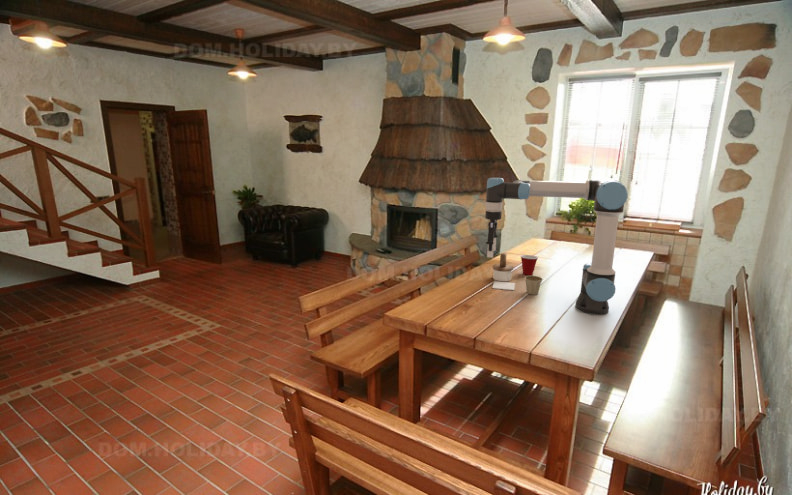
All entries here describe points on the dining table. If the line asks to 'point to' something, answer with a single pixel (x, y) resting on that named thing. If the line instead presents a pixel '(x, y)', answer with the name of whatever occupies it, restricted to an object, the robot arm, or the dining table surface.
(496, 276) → the bowl
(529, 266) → the plastic cup
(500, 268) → the lid
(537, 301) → the dining table surface
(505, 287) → the mat
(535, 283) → the flower pot
